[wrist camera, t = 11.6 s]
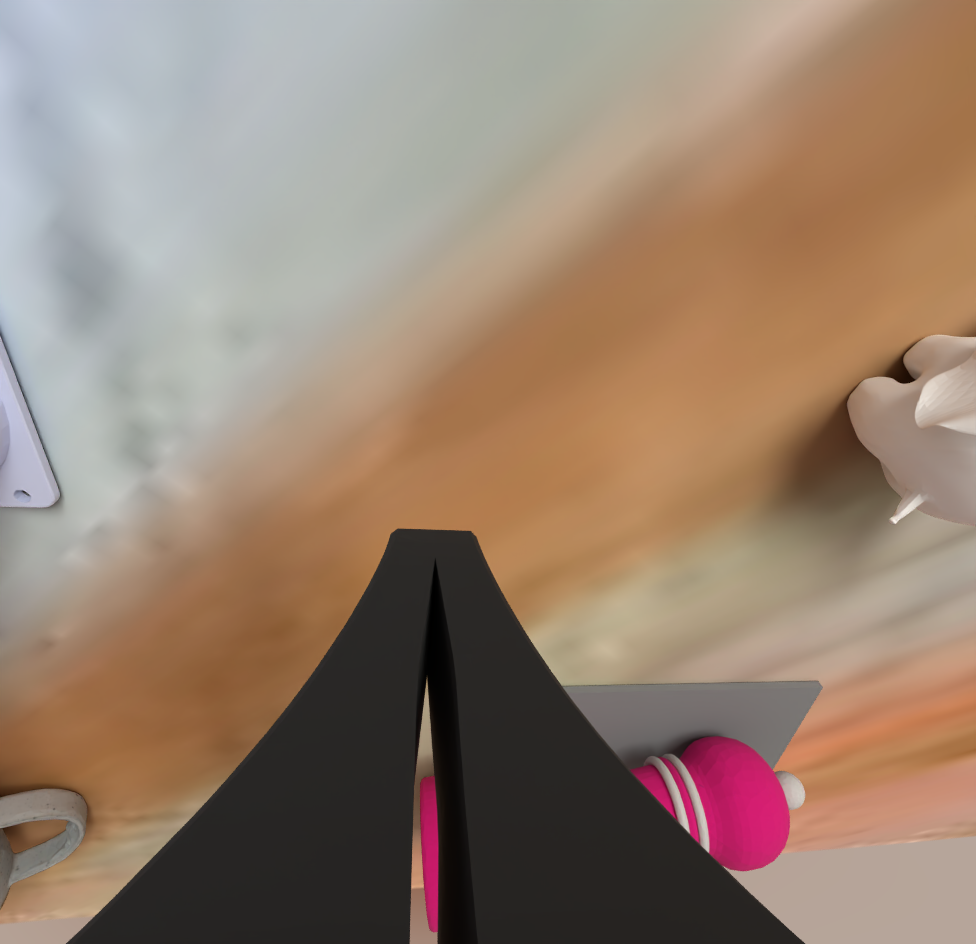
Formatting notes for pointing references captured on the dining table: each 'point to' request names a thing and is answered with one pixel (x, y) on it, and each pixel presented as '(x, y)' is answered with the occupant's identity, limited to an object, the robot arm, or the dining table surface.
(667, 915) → the robot arm
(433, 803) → the pepper mill
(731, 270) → the dining table surface
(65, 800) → the ceramic mug
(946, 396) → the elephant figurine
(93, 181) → the dining table surface
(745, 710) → the mat
